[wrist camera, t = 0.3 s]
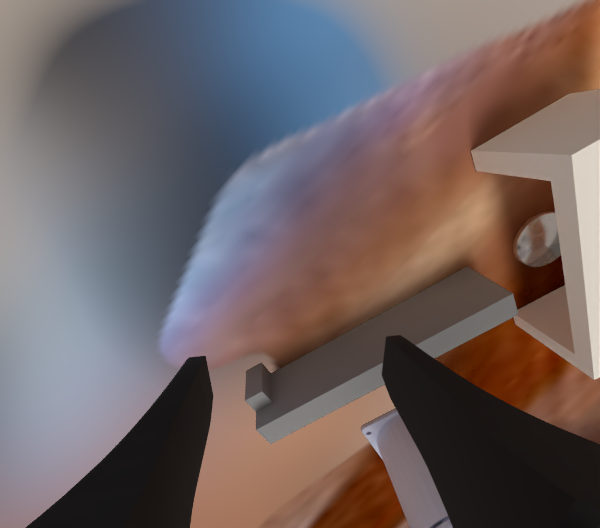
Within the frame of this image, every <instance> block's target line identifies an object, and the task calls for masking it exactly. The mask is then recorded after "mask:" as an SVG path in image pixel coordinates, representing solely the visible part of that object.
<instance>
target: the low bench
mask: <svg viewBox="0 0 600 528" xmlns="http://www.w3.org/2000/svg"><path fill="white" fill-rule="evenodd" d="M471 154H472V158H473V162H474V165H475V169H476V171H479V172H487V173H494V174H501V175H509V176H516V177H524V178H531V179H539V180H546V181H551V186H552V193H553V200H554V207H555V214H556V222H557V229H558V236H559V243H560V251H561V258H562V265H563V272H564V280H565V285H564V286H562V287H560V288H558V289H556V290H554V291H552V292H550V293H548V294H547V295H545V296H543V297H541V298H539V299H537V300H535V301H533V302H531V303H529V304H528V305H526V306H524V307H522V308H520V309H518V310H517V311H518V315H517V316H515V317H513V318H514V322H515V324H516V325H517V326H519V327H520V328H521V329H523V330H524V331H526V332H527V333H528V334H530V335H531V336H533V337H534V338H536V339H537V340H538V341H540V342H541V343H543V344H544V345H546V346H547V347H548V348H550V349H551V350H553V351H554V352H555V353H557V354H558V355H560V356H561V357H563V358H564V359H565V360H567V361H568V362H570V363H571V364H572V365H574V366H575V367H577V368H578V369H580V370H581V371H582V372H584V373H585V374H587V375H588V376H589V377H591V378H592V379H594V380H595V379H597V378H599V377H600V89H596V90H589V91H583V92H576V93H570V94H567V95H566V96H564V97H562V98H560V99H559V100H557V101H555V102H554V103H552V104H550V105H548V106H547V107H545V108H543V109H542V110H540V111H538V112H536V113H535V114H533V115H531V116H530V117H528V118H526V119H524V120H523V121H521V122H519V123H518V124H516V125H514V126H512V127H511V128H509V129H507V130H506V131H504V132H502V133H500V134H499V135H497V136H495V137H494V138H492V139H490V140H488V141H487V142H485V143H483V144H482V145H480V146H478V147H477V148H475V149H473V150H471Z"/></svg>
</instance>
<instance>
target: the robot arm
mask: <svg viewBox="0 0 600 528" xmlns="http://www.w3.org/2000/svg"><path fill="white" fill-rule="evenodd" d="M382 377H383V380H384V383H385V385H386V388H387V390H388V393H389V395H390V398H391V400H392V402H393V404H394V406H395V407H396V408H395V409H393V410H391V411H389V412H387V413H386V414H383V415H381V416H380V417H378V418H376V419H374V420H372V421H370V422H368V423H366V424H364V425H362V427H361V431H362V433H363V434H364V435H365V437H366V438H367V440H368V441H369V442H370V444H371V445H372V446H373V448H374V449H375V450H376V452H377V453H378V454H379V456H380V457H381V458H382V460H383V461H384V464H385V466H386V469H387V471H388V474H389V476H390V479H391V481H392V484H393V486H394V489H395V491H396V494H397V496H398V499H399V501H400V504H401V506H402V509H403V511H404V514H405V516H406V519H407V522H408V524H409V527H410V528H600V444H597V443H595V442H592V441H590V440H587V439H585V438H582V437H580V436H577V435H575V434H573V433H570V432H568V431H565V430H563V429H561V428H558V427H556V426H554V425H551V424H549V423H547V422H545V421H543V420H540V419H538V418H536V417H534V416H532V415H530V414H528V413H526V412H524V411H521V410H519V409H517V408H515V407H513V406H511V405H510V404H508V403H506V402H504V401H502V400H500V399H498V398H497V397H495V396H493V395H491V394H489V393H487V392H486V391H484V390H482V389H480V388H479V387H477V386H475V385H474V384H472V383H471V382H469V381H467V380H466V379H464V378H462V377H461V376H459V375H458V374H456V373H455V372H453V371H452V370H450V369H449V368H447V367H446V366H444V365H443V364H441V363H440V362H438V361H437V360H435V359H434V358H433V357H431V356H430V355H428V354H427V353H425V352H424V351H423V350H421V349H420V348H418V347H417V346H416V345H414V344H413V343H411V342H410V341H409V340H407V339H406V338H404V337H403V336H401V335H395V336H386V341H385V350H384V358H383V367H382ZM212 401H213V392H212V387H211V382H210V377H209V371H208V366H207V361H206V356H200V357H191V358H188V359H187V360H186V362H185V363H184V364H183V366H182V367H181V369H180V370H179V371H178V373H177V374H176V375H175V377H174V378H173V379H172V381H171V382H170V383H169V385H168V386H167V387H166V389H165V390H164V391H163V392H162V394H161V395H160V396H159V397H158V399H157V400H156V401H155V403H154V404H153V405H152V406H151V408H150V409H149V410H148V411H147V412H146V413H145V414H144V416H143V417H142V418H141V419H140V420H139V421H138V423H137V424H136V425H135V426H134V427H133V428H132V429H131V431H130V432H129V433H128V434H127V435H126V436H125V437H124V438H123V439H122V440H121V441H120V442H119V444H118V445H117V446H116V447H115V448H114V449H113V450H112V451H111V452H110V453H109V454H108V455H107V456H106V457H105V458H104V459H103V460H102V461H101V462H100V463H99V464H98V465H97V466H96V467H94V469H92V470H91V471H90V472H89V473H88V474H87V475H86V476H85V477H84V478H83V479H82V480H81V481H79V482H78V483H77V484H76V485H75V486H74V487H73V488H72V489H71V490H70V491H68V492H67V493H66V494H65V495H64V496H63V497H62V498H61V499H59V500H58V501H57V502H56V503H55V504H54V505H52V506H51V507H50V508H49V509H48V510H46V511H45V512H44V513H43V514H42V515H41V516H40V517H38V518H37V519H36V520H34V521H33V522H32V523H31V524H30V525H28V526H27V527H26V528H190V522H191V514H192V508H193V502H194V496H195V491H196V486H197V482H198V477H199V473H200V468H201V464H202V459H203V455H204V450H205V445H206V441H207V436H208V432H209V427H210V421H211V412H212Z"/></svg>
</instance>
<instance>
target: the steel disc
mask: <svg viewBox="0 0 600 528" xmlns="http://www.w3.org/2000/svg"><path fill="white" fill-rule="evenodd" d="M513 253H514V256H515V258H516V259H517V260H518V261H520V262H522V263H524V264H526V265H528V266H531V267H541V266H544V265H547V264H549V263H551V262H553V261H554V260H556V259H557V258H558V257H559V256H560V255H561V251H560V243H559V236H558V229H557V222H556V214H555V212H552V211H546V212H541V213H538V214H536V215H534V216H533V217H531V218H530V219H528V220H527V221H526V222H525V223H524V224H523V225H522V226H521V228H520V229H519V231H518V232H517V234H516V236H515V239H514V242H513Z"/></svg>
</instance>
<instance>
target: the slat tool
mask: <svg viewBox="0 0 600 528" xmlns="http://www.w3.org/2000/svg"><path fill="white" fill-rule="evenodd" d="M517 315H518V311H517V307H516V303H515V299H514V295H513V293H512V292H510V291H508V290H507V289H505V288H503V287H501V286H500V285H498V284H496V283H495V282H493V281H491V280H490V279H488V278H486V277H485V276H483V275H481V274H480V273H478V272H476V271H474V270H473V269H471V268H469V267H468V266H467V267H465V268H463V269H461V270H459V271H458V272H456V273H454V274H452V275H450V276H448V277H447V278H445V279H443V280H441V281H439V282H437V283H436V284H434V285H432V286H430V287H428V288H426V289H425V290H423V291H421V292H419V293H417V294H416V295H414V296H412V297H410V298H408V299H406V300H405V301H403V302H401V303H399V304H397V305H395V306H394V307H392V308H390V309H388V310H386V311H384V312H383V313H381V314H379V315H377V316H375V317H373V318H372V319H370V320H368V321H366V322H364V323H363V324H361V325H359V326H357V327H355V328H353V329H352V330H350V331H348V332H346V333H344V334H342V335H341V336H339V337H337V338H335V339H333V340H331V341H330V342H328V343H326V344H324V345H322V346H320V347H319V348H317V349H315V350H313V351H311V352H310V353H308V354H306V355H304V356H302V357H300V358H299V359H297V360H295V361H293V362H291V363H289V364H288V365H286V366H284V367H282V368H280V369H278V370H277V371H274V372H273V373H270V372H269V371H268V370H267V368H266V367H265V366H264V365H263V364H262V363H260V364H258V365H256V366H254V367H252V368H251V369H249V370H247V371H246V390H245V401H246V402H247V403H248V404H249V405H250V406H251V407H252V408H253V409H254V410H255V411H256V430H257V431H258V432H259V433H260V434H261V435H262V436H263V437H264V438H265V439H266V440H267V441H268V442H269V443H270V444H272V443H274V442H276V441H277V440H279V439H281V438H283V437H285V436H287V435H289V434H291V433H293V432H295V431H296V430H298V429H300V428H302V427H304V426H306V425H308V424H310V423H312V422H314V421H316V420H318V419H320V418H322V417H323V416H325V415H327V414H329V413H331V412H333V411H335V410H337V409H339V408H341V407H343V406H344V405H346V404H348V403H350V402H352V401H354V400H356V399H358V398H360V397H362V396H364V395H365V394H367V393H369V392H371V391H373V390H375V389H377V388H379V387H381V386H383V385H385V383H384V380H383V377H382V367H383V358H384V350H385V341H386V336H395V335H401V336H403V337H404V338H406V339H407V340H409V341H410V342H411V343H413V344H414V345H416V346H417V347H418V348H420V349H421V350H423V351H424V352H425V353H427V354H428V355H430V356H431V357H433V358H436V357H438V356H440V355H442V354H444V353H446V352H448V351H450V350H452V349H453V348H455V347H457V346H459V345H461V344H463V343H465V342H467V341H469V340H471V339H473V338H474V337H476V336H478V335H480V334H482V333H484V332H486V331H488V330H490V329H492V328H494V327H496V326H497V325H499V324H501V323H503V322H505V321H507V320H509V319H511V318H513V317H515V316H517Z"/></svg>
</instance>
